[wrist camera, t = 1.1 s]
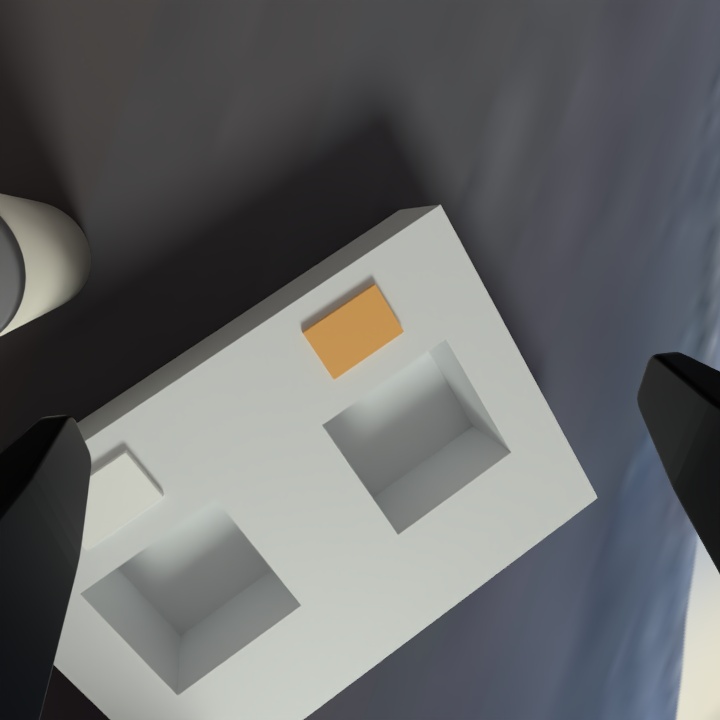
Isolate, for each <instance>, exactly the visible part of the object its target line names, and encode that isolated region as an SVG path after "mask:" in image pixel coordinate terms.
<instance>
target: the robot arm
mask: <svg viewBox="0 0 720 720" xmlns="http://www.w3.org/2000/svg"><path fill="white" fill-rule="evenodd" d="M637 400H638V406H639V409H640V412H641V414H642V416H643V419H644V421H645V424H646V426H647V428H648V431H649V433H650V436H651V438H652V441H653V443H654V445H655V448H656V450H657V453H658V455H659V457H660V460H661V462H662V465H663V467H664V469H665V472H666V474H667V476H668V479H669V481H670V483H671V485H672V487H673V489H674V491H675V493H676V495H677V497H678V499H679V501H680V503H681V505H682V506H683V508H684V510H685V512H686V514H687V515H688V517H689V519H690V521H691V523H692V524H693V526H694V528H695V530H696V532H697V534H698V535H699V537H700V539H701V541H702V542H703V544H704V546H705V548H706V550H707V552H708V553H709V555H710V557H711V559H712V561H713V562H714V564H715V566H716V568H717V570H718V572H719V573H720V371H718V370H716V369H713V368H711V367H709V366H707V365H705V364H703V363H701V362H699V361H697V360H695V359H693V358H691V357H689V356H687V355H684V354H682V353H679V352H671V353H661V354H655V355H653V356H652V357H651V358H650V359H649V361H648V363H647V366H646V369H645V372H644V376H643V379H642V382H641V385H640V388H639V391H638V397H637ZM90 475H91V455H90V452H89V449H88V447H87V445H86V443H85V441H84V438H83V436H82V434H81V432H80V429H79V427H78V425H77V423H76V421H75V419H74V418H73V417H72V416H70V415H57V416H47V417H43V418H41V419H39V420H38V421H36V422H35V423H34V424H33V425H32V426H31V427H29V428H28V429H27V430H26V431H25V432H24V433H22V434H21V435H20V436H19V437H18V438H17V439H15V440H14V441H13V442H12V443H11V444H10V445H8V446H7V447H6V448H5V449H4V450H3V451H1V452H0V720H40V716H41V712H42V708H43V704H44V700H45V696H46V692H47V688H48V684H49V680H50V676H51V672H52V668H53V664H54V660H55V656H56V652H57V648H58V644H59V640H60V636H61V632H62V628H63V624H64V620H65V616H66V612H67V608H68V604H69V600H70V596H71V592H72V588H73V584H74V580H75V577H76V572H77V568H78V563H79V559H80V552H81V546H82V539H83V531H84V523H85V515H86V507H87V499H88V491H89V483H90Z"/></svg>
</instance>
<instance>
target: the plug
mask: <svg viewBox="0 0 720 720" xmlns="http://www.w3.org/2000/svg"><path fill="white" fill-rule="evenodd" d="M90 269H91V252H90V247H89V244H88V241H87V239H86V237H85V235H84V233H83V231H82V230H81V228H80V227H79V226H78V225H77V223H76V222H75V221H74V220H73V219H72V218H71V217H70V216H68V215H67V214H66V213H64V212H63V211H61V210H59V209H58V208H56V207H54V206H51V205H49V204H46V203H42V202H38V201H33V200H29V199H24V198H19V197H14V196H10V195H5V194H0V336H2V335H4V334H6V333H8V332H10V331H12V330H14V329H16V328H18V327H20V326H22V325H24V324H26V323H28V322H29V321H31V320H33V319H35V318H37V317H39V316H41V315H43V314H45V313H47V312H49V311H51V310H53V309H55V308H57V307H59V306H61V305H63V304H65V303H67V302H68V301H70V300H71V299H73V298H74V297H75V296H76V295H77V294H78V293H79V292H80V291H81V289H82V288H83V287H84V285H85V283H86V281H87V279H88V276H89V273H90Z"/></svg>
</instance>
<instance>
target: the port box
mask: <svg viewBox="0 0 720 720" xmlns="http://www.w3.org/2000/svg"><path fill="white" fill-rule="evenodd" d="M77 425H78V427H79V429H80V432H81V434H82V436H83V438H84V441H85V443H86V445H87V447H88V449H89V452H90V455H91V475H90V483H89V491H88V499H87V507H86V515H85V523H84V531H83V539H82V546H81V552H80V559H79V563H78V568H77V572H76V577H75V580H74V584H73V588H72V592H71V596H70V600H69V604H68V608H67V612H66V616H65V620H64V624H63V628H62V632H61V636H60V640H59V644H58V648H57V652H56V656H55V660H54V664H53V665H54V666H55V667H56V668H58V669H59V670H60V671H61V672H62V673H63V674H64V675H65V676H66V677H67V678H68V679H69V680H70V681H71V682H72V683H73V684H74V685H75V686H76V687H77V688H78V689H79V690H80V691H81V692H82V693H83V694H84V695H85V696H86V697H87V698H88V699H89V700H91V701H92V702H93V703H94V704H95V705H96V706H97V707H98V708H99V709H100V710H101V711H102V712H103V713H104V714H105V715H106V716H107V717H108V718H109V719H110V720H303V719H305V718H306V717H307V716H309V715H310V714H311V713H313V712H314V711H315V710H317V709H318V708H319V707H321V706H322V705H323V704H325V703H326V702H327V701H329V700H330V699H331V698H333V697H334V696H335V695H337V694H338V693H339V692H340V691H342V690H343V689H344V688H346V687H347V686H348V685H350V684H351V683H352V682H354V681H355V680H356V679H358V678H359V677H360V676H362V675H363V674H364V673H366V672H367V671H368V670H370V669H371V668H372V667H374V666H375V665H376V664H378V663H379V662H380V661H382V660H383V659H384V658H386V657H387V656H388V655H390V654H391V653H392V652H394V651H395V650H396V649H398V648H399V647H400V646H402V645H403V644H404V643H406V642H407V641H408V640H410V639H411V638H412V637H414V636H415V635H416V634H418V633H419V632H420V631H421V630H423V629H424V628H425V627H427V626H428V625H429V624H431V623H432V622H433V621H435V620H436V619H437V618H439V617H440V616H441V615H443V614H444V613H445V612H447V611H448V610H449V609H451V608H452V607H453V606H455V605H456V604H457V603H459V602H460V601H461V600H463V599H464V598H465V597H467V596H468V595H469V594H471V593H472V592H473V591H475V590H476V589H477V588H479V587H480V586H481V585H483V584H484V583H485V582H487V581H488V580H489V579H491V578H492V577H493V576H495V575H496V574H497V573H499V572H500V571H501V570H503V569H504V568H505V567H506V566H508V565H509V564H510V563H512V562H513V561H514V560H516V559H517V558H518V557H520V556H521V555H522V554H524V553H525V552H526V551H528V550H529V549H530V548H532V547H533V546H534V545H536V544H537V543H538V542H540V541H541V540H542V539H544V538H545V537H546V536H548V535H549V534H550V533H552V532H553V531H554V530H556V529H557V528H558V527H560V526H561V525H562V524H564V523H565V522H566V521H568V520H569V519H570V518H572V517H573V516H574V515H576V514H577V513H578V512H580V511H581V510H582V509H584V508H585V507H586V506H587V505H589V504H590V503H591V502H593V501H594V500H595V499H597V498H598V497H597V496H596V494H595V492H594V490H593V488H592V486H591V484H590V482H589V481H588V479H587V477H586V475H585V473H584V471H583V469H582V468H581V466H580V464H579V462H578V460H577V458H576V456H575V454H574V453H573V451H572V449H571V447H570V445H569V443H568V441H567V440H566V438H565V436H564V434H563V432H562V430H561V428H560V427H559V425H558V423H557V421H556V419H555V417H554V415H553V413H552V412H551V410H550V408H549V406H548V404H547V402H546V400H545V399H544V397H543V395H542V393H541V391H540V389H539V387H538V385H537V384H536V382H535V380H534V378H533V376H532V374H531V372H530V371H529V369H528V367H527V365H526V363H525V361H524V359H523V358H522V356H521V354H520V352H519V350H518V348H517V346H516V344H515V343H514V341H513V339H512V337H511V335H510V333H509V331H508V330H507V328H506V326H505V324H504V322H503V320H502V318H501V316H500V315H499V313H498V311H497V309H496V307H495V305H494V303H493V302H492V300H491V298H490V296H489V294H488V292H487V290H486V289H485V287H484V285H483V283H482V281H481V279H480V277H479V275H478V274H477V272H476V270H475V268H474V266H473V264H472V262H471V261H470V259H469V257H468V255H467V253H466V251H465V249H464V247H463V246H462V244H461V242H460V240H459V238H458V236H457V234H456V233H455V231H454V229H453V227H452V225H451V223H450V221H449V219H448V218H447V216H446V214H445V212H444V210H443V208H442V206H441V205H433V206H425V207H418V208H410V209H402V210H399V211H397V212H396V213H394V214H393V215H391V216H390V217H388V218H387V219H385V220H384V221H382V222H381V223H379V224H378V225H376V226H374V227H373V228H371V229H370V230H368V231H367V232H365V233H364V234H362V235H361V236H359V237H358V238H356V239H355V240H353V241H352V242H350V243H349V244H347V245H346V246H344V247H343V248H341V249H340V250H338V251H337V252H335V253H334V254H332V255H331V256H329V257H328V258H326V259H325V260H323V261H322V262H320V263H319V264H317V265H315V266H314V267H312V268H311V269H309V270H308V271H306V272H305V273H303V274H302V275H300V276H299V277H297V278H296V279H294V280H293V281H291V282H290V283H288V284H287V285H285V286H284V287H282V288H281V289H279V290H278V291H276V292H275V293H273V294H272V295H270V296H269V297H267V298H266V299H264V300H263V301H261V302H260V303H258V304H257V305H255V306H253V307H252V308H250V309H249V310H247V311H246V312H244V313H243V314H241V315H240V316H238V317H237V318H235V319H234V320H232V321H231V322H229V323H228V324H226V325H225V326H223V327H222V328H220V329H219V330H217V331H216V332H214V333H213V334H211V335H210V336H208V337H207V338H205V339H204V340H202V341H201V342H199V343H198V344H196V345H194V346H193V347H191V348H190V349H188V350H187V351H185V352H184V353H182V354H181V355H179V356H178V357H176V358H175V359H173V360H172V361H170V362H169V363H167V364H166V365H164V366H163V367H161V368H160V369H158V370H157V371H155V372H154V373H152V374H151V375H149V376H148V377H146V378H145V379H143V380H142V381H140V382H139V383H137V384H136V385H134V386H132V387H131V388H129V389H128V390H126V391H125V392H123V393H122V394H120V395H119V396H117V397H116V398H114V399H113V400H111V401H110V402H108V403H107V404H105V405H104V406H102V407H101V408H99V409H98V410H96V411H95V412H93V413H92V414H90V415H89V416H87V417H86V418H84V419H83V420H81V421H80V422H78V423H77Z"/></svg>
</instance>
